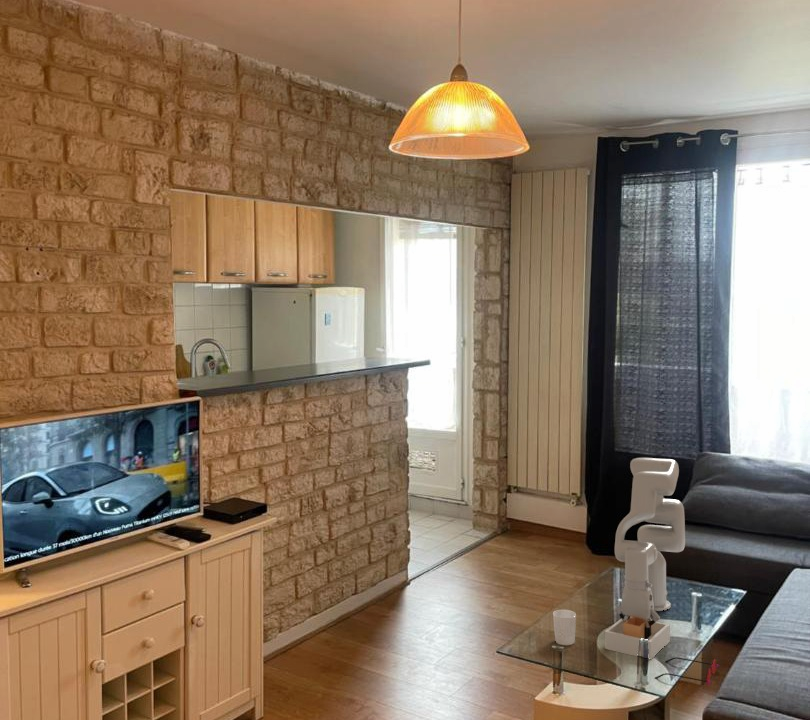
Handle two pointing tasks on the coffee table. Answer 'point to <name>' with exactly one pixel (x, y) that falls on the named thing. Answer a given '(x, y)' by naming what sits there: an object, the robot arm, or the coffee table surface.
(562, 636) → the white cup
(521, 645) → the coffee table surface
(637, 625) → the orange crate
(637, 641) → the box
